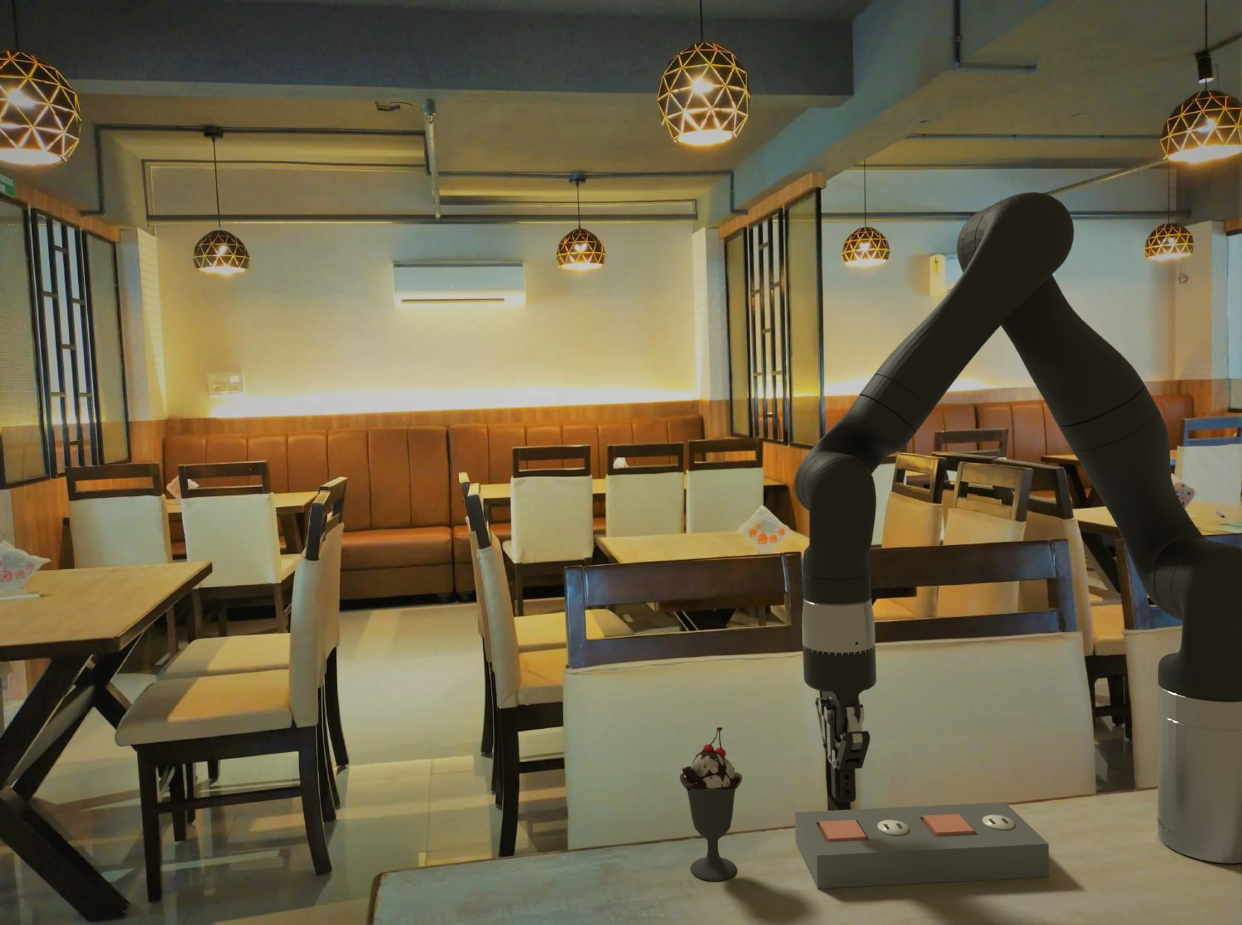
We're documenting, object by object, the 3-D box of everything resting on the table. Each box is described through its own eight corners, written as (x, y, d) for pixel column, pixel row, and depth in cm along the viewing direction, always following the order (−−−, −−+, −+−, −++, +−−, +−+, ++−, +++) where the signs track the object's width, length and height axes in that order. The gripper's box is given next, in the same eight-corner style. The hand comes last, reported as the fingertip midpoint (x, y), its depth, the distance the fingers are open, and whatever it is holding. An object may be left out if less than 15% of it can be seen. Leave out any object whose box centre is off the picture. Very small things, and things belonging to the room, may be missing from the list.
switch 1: (855, 841, 101) (855, 819, 101) (866, 859, 97) (866, 836, 97) (819, 843, 101) (819, 821, 101) (829, 861, 97) (828, 838, 97)
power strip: (1005, 832, 105) (1004, 799, 105) (1048, 876, 95) (1048, 840, 95) (795, 842, 104) (794, 809, 104) (817, 888, 94) (816, 852, 94)
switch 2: (959, 836, 101) (958, 814, 101) (974, 853, 97) (974, 830, 97) (923, 837, 101) (923, 815, 101) (937, 855, 97) (936, 832, 97)
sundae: (743, 854, 102) (739, 721, 101) (745, 886, 95) (741, 744, 94) (683, 853, 102) (679, 721, 101) (681, 885, 96) (677, 743, 95)
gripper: (894, 654, 91) (899, 825, 92) (855, 623, 104) (860, 772, 105) (818, 659, 91) (824, 829, 92) (789, 627, 104) (795, 776, 105)
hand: (843, 799), depth 99 cm, fingers closed
